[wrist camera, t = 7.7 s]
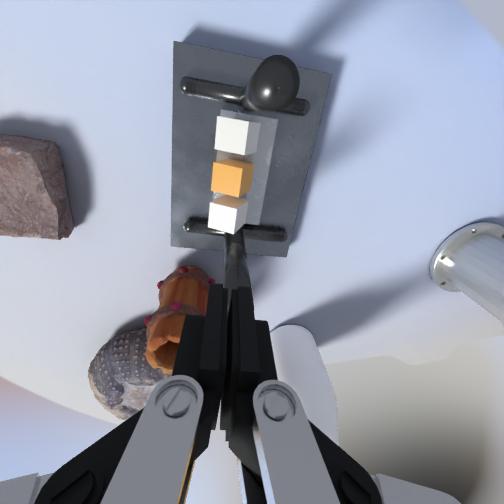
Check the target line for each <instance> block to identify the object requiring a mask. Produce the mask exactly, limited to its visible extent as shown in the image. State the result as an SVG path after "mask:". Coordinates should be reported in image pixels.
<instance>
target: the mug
mask: <svg viewBox="0 0 504 504" xmlns="http://www.w3.org/2000/svg"><path fill="white" fill-rule="evenodd" d="M210 283H215V280H214V279H211V278H208V277H207V276H206V275H205V274H204V272H203V271H201V270H200V269H198V268H196V267H192V266H188V267H181V268H178V269H177V270H175V271H174V272H173V273H171V274H170V275H169V276H168V277H167V278H166V279H165V280H164V281H160V282H159V283H158V284H157V286H158V288H159V289H160V291H159V301H160V306H159V308H158V310H157V311H156V312H155V313H154V314H153V315H151V316H148V317H146V318H145V320H144V324H145V325H146V326H147V331H146V335H147V340H148V342H147V350H146V353H145V355H146V359H147V361H148V363H149V364H150V365H151V366H152V367H153V368H155V369H156V368H161V370H162V372H163V373H165V374H172V371H173V367H174V363H175V359H176V354H177V350H178V346H179V341H180V337H181V333H182V328H183V324H184V320H185V316H186V314H190V315H202V316H206V308H207V301H208V293H209V286H210Z"/></svg>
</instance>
